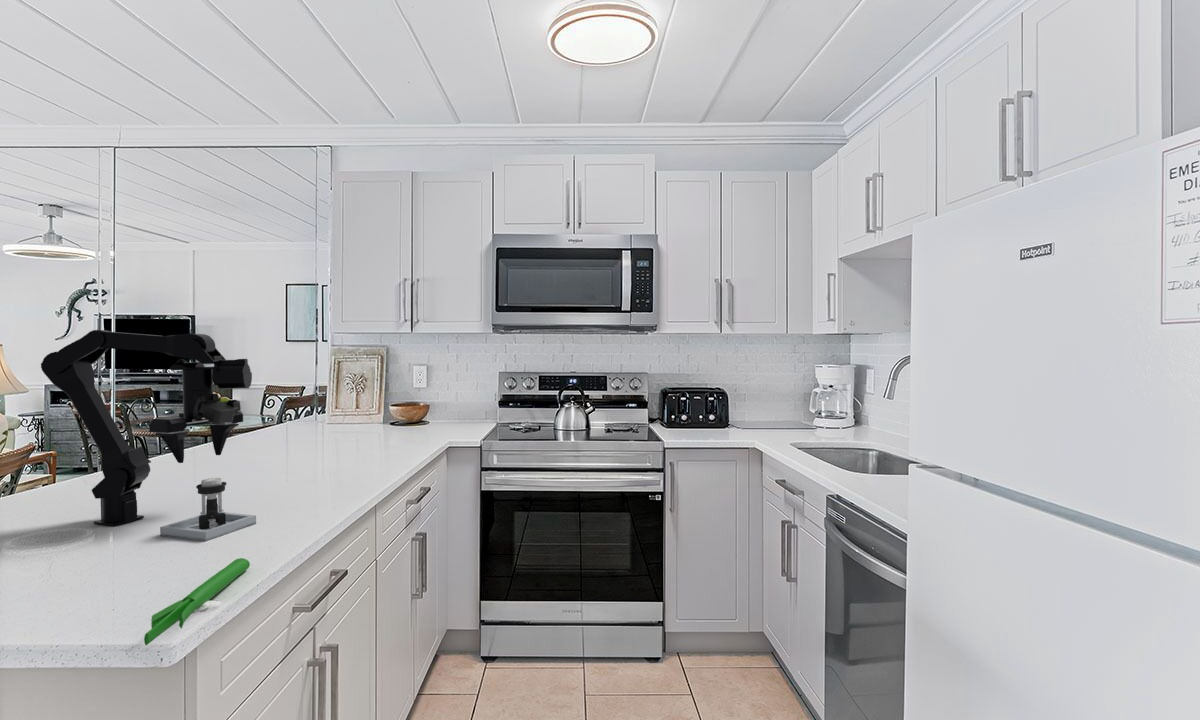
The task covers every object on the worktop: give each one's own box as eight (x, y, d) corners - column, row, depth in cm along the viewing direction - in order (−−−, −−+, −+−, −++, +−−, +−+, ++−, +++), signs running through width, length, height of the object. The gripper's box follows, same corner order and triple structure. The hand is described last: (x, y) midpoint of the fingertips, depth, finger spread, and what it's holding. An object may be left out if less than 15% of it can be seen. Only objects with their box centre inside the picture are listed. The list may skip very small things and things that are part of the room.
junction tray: (160, 535, 123) (160, 527, 123) (213, 519, 135) (212, 511, 135) (206, 541, 120) (205, 532, 120) (256, 523, 132) (256, 515, 132)
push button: (189, 533, 123) (188, 484, 123) (189, 527, 128) (188, 480, 127) (228, 527, 127) (227, 480, 127) (226, 521, 132) (225, 475, 131)
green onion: (228, 577, 104) (125, 657, 75) (228, 558, 104) (125, 630, 75) (259, 575, 105) (169, 653, 75) (259, 556, 105) (169, 627, 76)
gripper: (186, 393, 125) (188, 469, 125) (260, 387, 143) (262, 453, 143) (146, 393, 128) (148, 466, 129) (223, 386, 146) (225, 451, 147)
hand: (200, 458), depth 137 cm, fingers open, 9 cm apart
